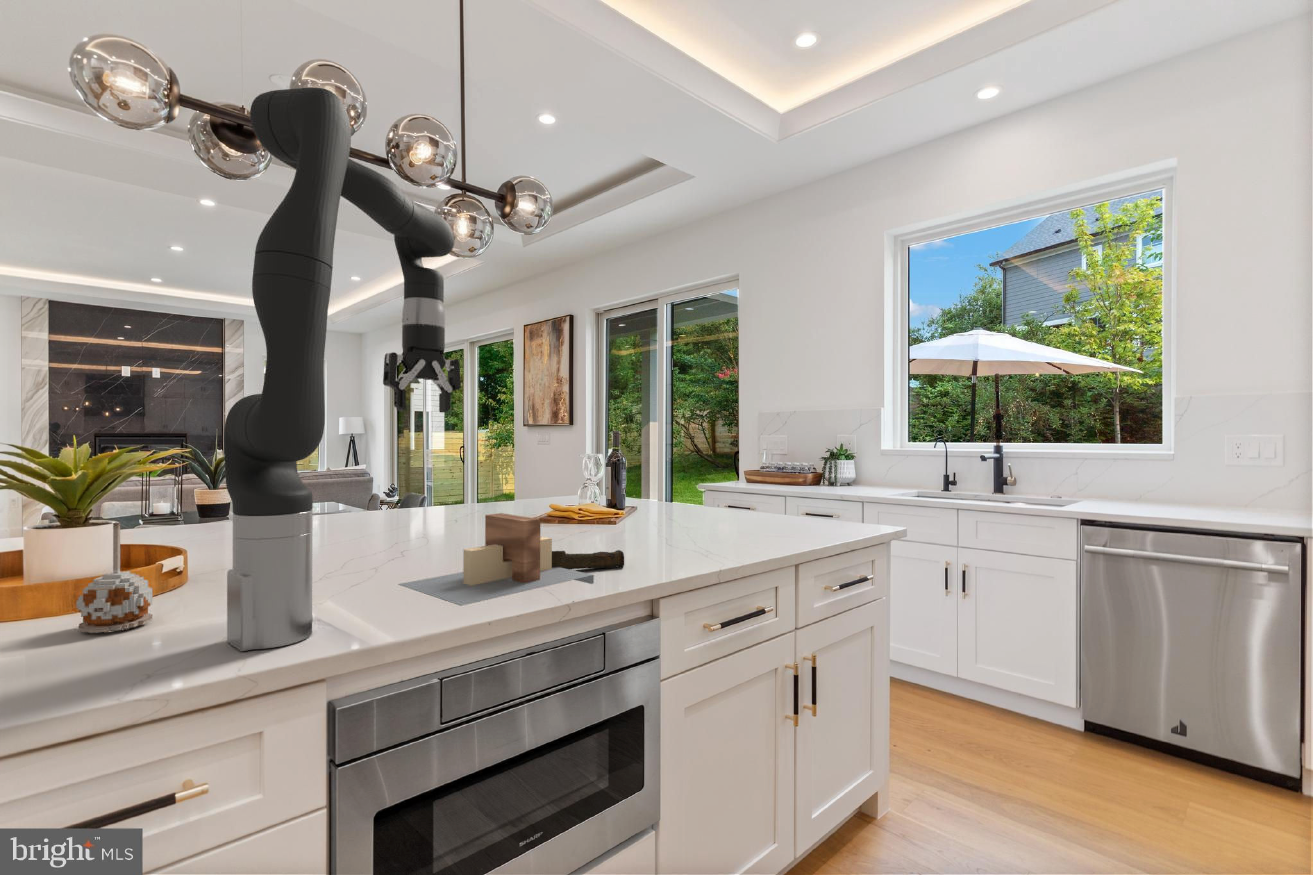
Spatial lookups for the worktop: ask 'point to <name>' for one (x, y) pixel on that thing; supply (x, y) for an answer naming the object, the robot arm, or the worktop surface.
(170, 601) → the worktop surface
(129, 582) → the decorative ornament
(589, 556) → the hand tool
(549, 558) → the slotted plate stand
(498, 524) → the mahogany slotted plate
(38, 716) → the worktop surface
